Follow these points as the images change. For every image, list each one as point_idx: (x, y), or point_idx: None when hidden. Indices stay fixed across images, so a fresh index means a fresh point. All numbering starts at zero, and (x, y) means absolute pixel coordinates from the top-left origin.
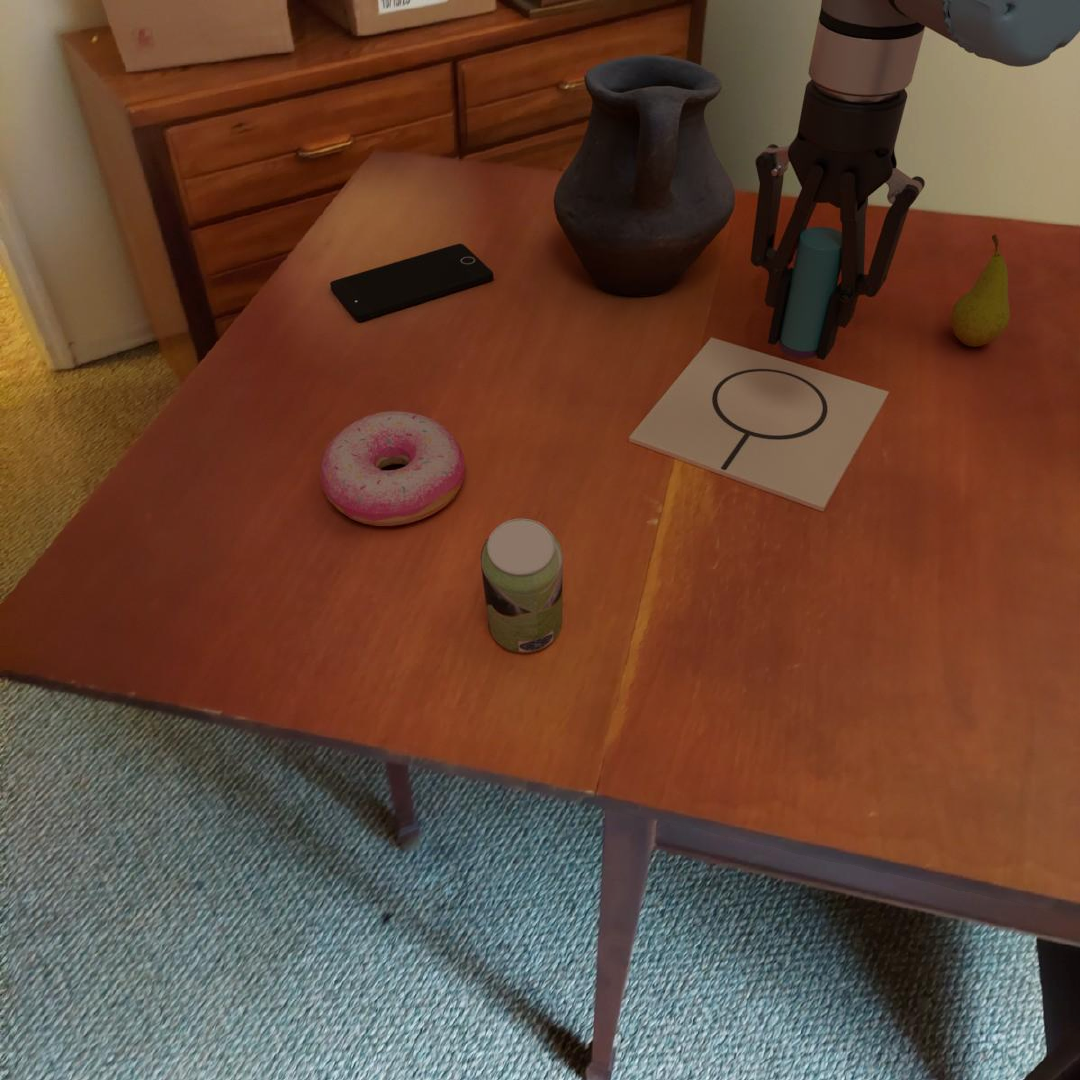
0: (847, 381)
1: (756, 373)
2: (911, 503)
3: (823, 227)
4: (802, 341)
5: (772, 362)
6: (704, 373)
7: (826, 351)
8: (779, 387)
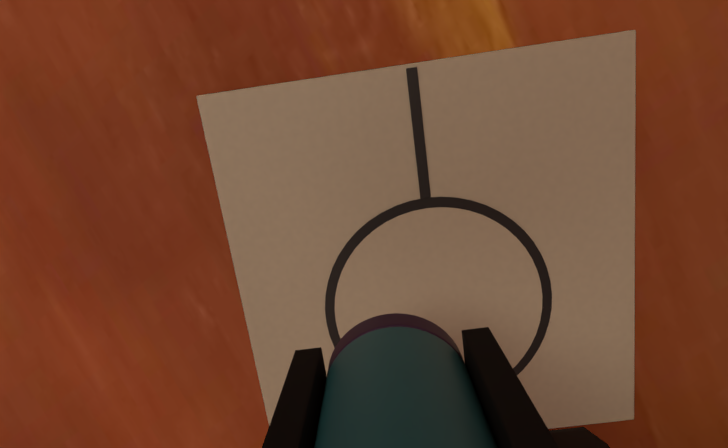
0: None
1: None
2: (98, 221)
3: None
4: (366, 352)
5: None
6: (592, 313)
7: (289, 371)
8: None
